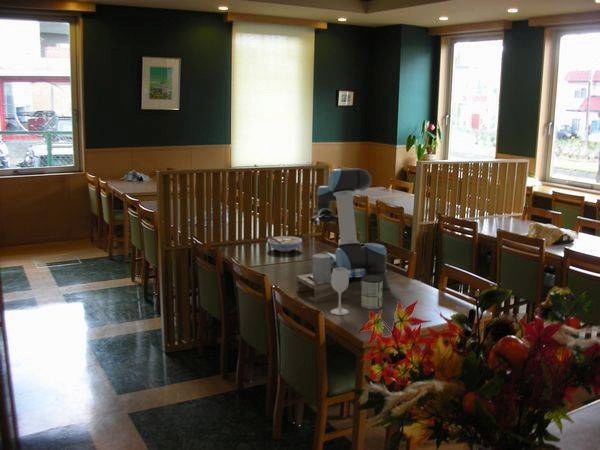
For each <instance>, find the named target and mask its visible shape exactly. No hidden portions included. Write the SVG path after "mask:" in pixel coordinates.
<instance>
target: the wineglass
mask: <svg viewBox="0 0 600 450" xmlns="http://www.w3.org/2000/svg"><path fill="white" fill-rule="evenodd" d="M348 271H349V270H347V269H346V268H342V267H339V266H338V267H334V268H332V270H331V274H332V277H331V284H332V287H333V289H334V290H335V291H337V292H338V294H339V299H338V307H337V308H333V309H331V310H330V311H329V312H330V314H332V315H334V314H335V315H336V316H345V315H348V314H349V313H350V312H349V310H348V309H345V308H342V302H341V301H342V298H341V293H342V292H343V291H345V290H346V289H347V287H348V288H349V282H350V279H349V278H350V277H349V272H348Z"/></svg>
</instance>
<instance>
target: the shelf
mask: <svg viewBox="0 0 600 450" xmlns="http://www.w3.org/2000/svg"><path fill="white" fill-rule="evenodd" d="M310 276H313V273H307V274H299V275H296V276H295V277H296V279H295V280H296V285H295V286H296V288H295V289H296V291H297V293H298V292H303V291H305V292H306V291H312V290H314V291H313V293H314V295H313V296H314V303H322V302H326V301H333V300H339V294H338V292H337V291H335V290H334V289H333V287H332V284H331V282H329V283H321V284H317V283H315V282H313V281H311V280H310ZM331 277H332V273H331ZM348 288H349V286H348V287H347V289H346V290H345V291H343V292H342V293H341V299H346V298H348V295H349V294H348V293H349V292H348Z"/></svg>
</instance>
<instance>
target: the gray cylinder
mask: <svg viewBox="0 0 600 450" xmlns="http://www.w3.org/2000/svg"><path fill="white" fill-rule="evenodd" d="M312 274H313V278H312V279H313V280H315V281H321V282H323V281H329V280H331V274H332V255H331V254H329V253H323V252H321V253H319V252H317V253H314V254H312Z"/></svg>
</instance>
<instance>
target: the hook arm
mask: <svg viewBox="0 0 600 450" xmlns="http://www.w3.org/2000/svg"><path fill="white" fill-rule="evenodd" d="M312 278H313V276H310V280H311V281H313V282H315V283H317V284H321V283H329V282H331V280H329V281H323V282H321V281H315V280H313V279H312Z"/></svg>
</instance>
